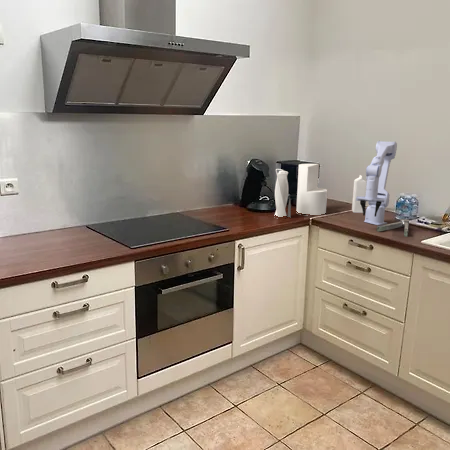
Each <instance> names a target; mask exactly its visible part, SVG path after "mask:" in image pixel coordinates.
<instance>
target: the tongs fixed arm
mask: <svg viewBox="0 0 450 450" xmlns="http://www.w3.org/2000/svg"><path fill="white" fill-rule="evenodd" d="M399 220H400V221H399V222H407V223H405V227H403V228H404V229H403V230H404V232H403V237H408V233H409V227H410V219H406V218H405V219H403V218H401V219H399Z"/></svg>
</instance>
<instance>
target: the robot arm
mask: <svg viewBox="0 0 450 450" xmlns="http://www.w3.org/2000/svg"><path fill="white" fill-rule="evenodd" d="M397 150H398V143H397V141H384V140H377V141H376V144H375V153H376V156H374V157H372V159H371V162H370V164H368V165H367V166H366V169H365V170H366V171H365V175H366V176H365V179H366V180H365V181H367V183H366V195H365V197H358V196H357V197H356V201H360V204H361V206H362V210H363V213H362V214H363V215H362V216H364V217H365V218H364V221H363V222H364V223H367V224H372V225H376V226H381V225H386V224H388V222H385V211H386V208H387V207H388V206H389V204H390V192H389V191H387V190H386V187H387V181H388V176H389V171H390V164H391V162H392V160H394V159H395V157H396V155H397ZM367 203H368V206H367V207H366V204H367Z"/></svg>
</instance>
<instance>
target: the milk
mask: <svg viewBox="0 0 450 450" xmlns="http://www.w3.org/2000/svg"><path fill="white" fill-rule="evenodd" d="M366 184H367V180H365V179H364V178H363V175H361V174H359V176H358V177H357V178H355V179H354V180H353V189H352V190H353V191H352V192H353V193H352V203H351V211H352V212H353V213H358V214H363V210H362V206H361V204H360V201H356V197H357V196H358V197H365V196H366Z"/></svg>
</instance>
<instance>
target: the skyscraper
mask: <svg viewBox="0 0 450 450" xmlns="http://www.w3.org/2000/svg"><path fill="white" fill-rule="evenodd" d="M275 173H276V176H277V177H276V181H275V187H274V200H275V202H274V203H275V209H276V210H275V212H274V216H275V215H276V216H278V217H283V216H287V217H290V218H292V217H291V215H292V213H291V212H292V211H291V209H292V208H291V207H292V204H291V199H289V182H288V174H289V172H288V171H286V170H284V169H281V168H276V169H275ZM288 199H289V200H288ZM287 203H288V204H287ZM287 205H288V206H287ZM286 207H287V212H286Z"/></svg>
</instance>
